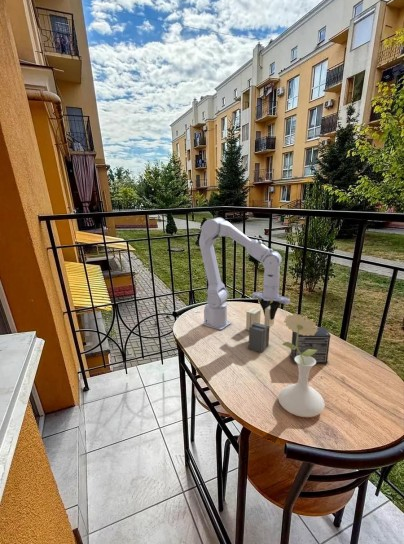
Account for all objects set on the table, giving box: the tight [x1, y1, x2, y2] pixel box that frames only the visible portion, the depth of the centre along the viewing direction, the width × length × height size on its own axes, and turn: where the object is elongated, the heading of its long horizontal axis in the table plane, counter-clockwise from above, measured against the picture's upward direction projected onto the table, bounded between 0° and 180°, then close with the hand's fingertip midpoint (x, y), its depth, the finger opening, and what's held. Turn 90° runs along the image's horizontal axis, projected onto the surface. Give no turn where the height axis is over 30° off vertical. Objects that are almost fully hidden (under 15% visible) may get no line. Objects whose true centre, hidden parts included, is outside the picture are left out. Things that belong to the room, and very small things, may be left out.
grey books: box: [248, 323, 271, 353], centre depth 100 cm, size 5×6×9 cm
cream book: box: [263, 306, 275, 329], centre depth 109 cm, size 5×2×8 cm, turn 142°
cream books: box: [245, 307, 262, 331], centre depth 115 cm, size 4×5×8 cm
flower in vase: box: [277, 313, 326, 418], centre depth 69 cm, size 13×11×25 cm
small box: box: [290, 326, 331, 365], centre depth 92 cm, size 11×6×10 cm, turn 84°
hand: (269, 318), depth 110 cm, fingers closed on cream book, 2 cm apart
